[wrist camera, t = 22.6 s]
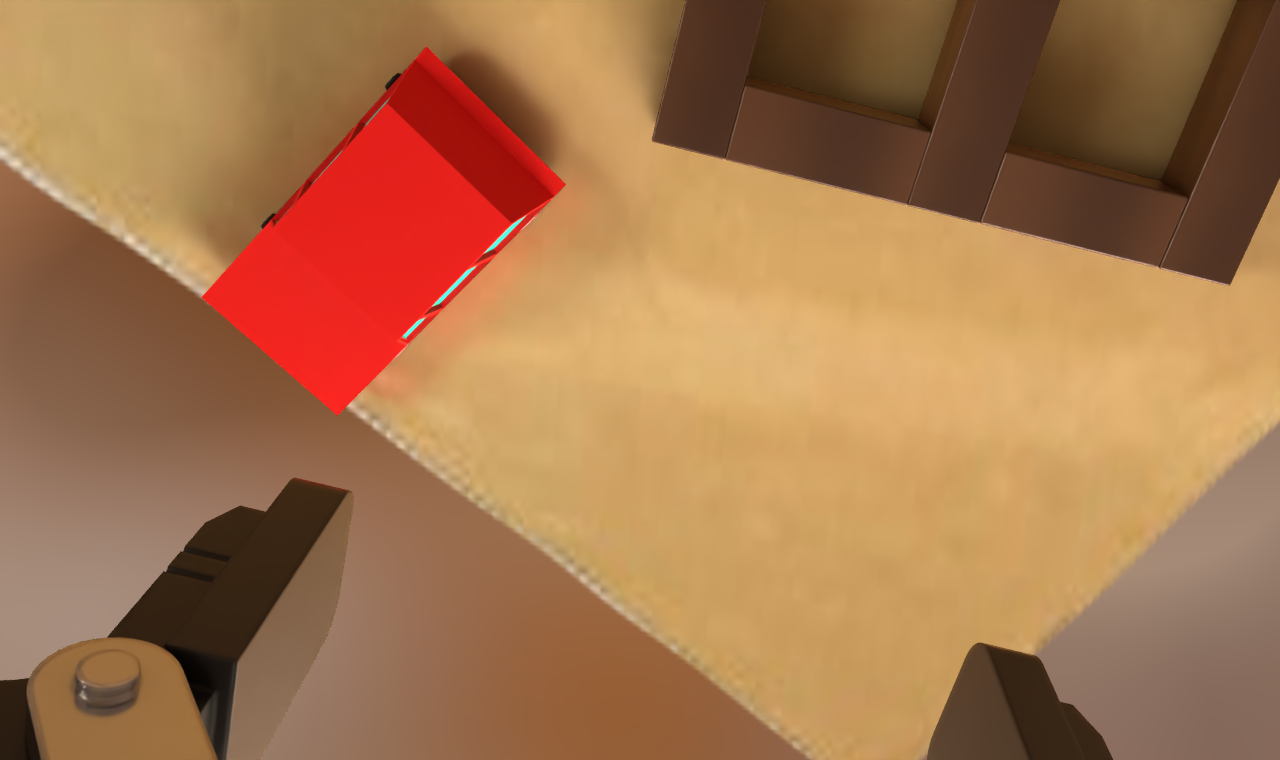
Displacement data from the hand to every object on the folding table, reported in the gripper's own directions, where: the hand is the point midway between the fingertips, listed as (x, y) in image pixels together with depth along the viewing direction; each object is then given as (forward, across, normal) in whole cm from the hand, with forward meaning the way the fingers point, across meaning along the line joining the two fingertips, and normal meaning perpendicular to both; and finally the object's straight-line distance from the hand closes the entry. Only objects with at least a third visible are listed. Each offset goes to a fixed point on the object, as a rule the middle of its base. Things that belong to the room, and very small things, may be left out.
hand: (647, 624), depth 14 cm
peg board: (+26, -8, -7) cm, 28 cm away
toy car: (+26, +10, +4) cm, 28 cm away
